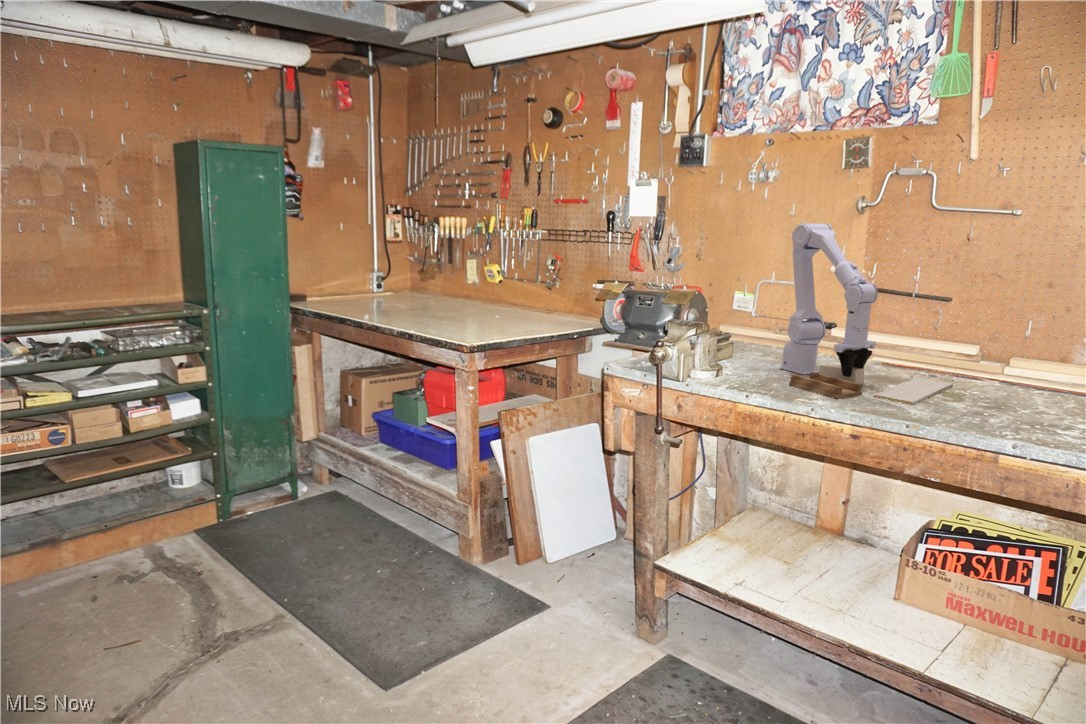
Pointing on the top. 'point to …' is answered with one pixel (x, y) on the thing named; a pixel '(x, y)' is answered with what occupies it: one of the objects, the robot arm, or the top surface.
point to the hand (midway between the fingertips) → (851, 375)
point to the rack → (826, 385)
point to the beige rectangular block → (836, 372)
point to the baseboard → (914, 390)
